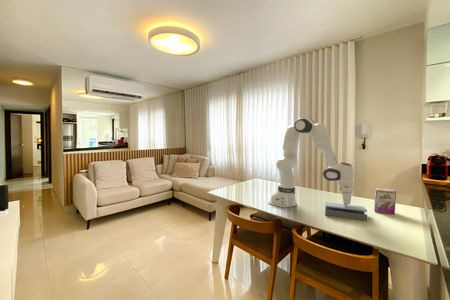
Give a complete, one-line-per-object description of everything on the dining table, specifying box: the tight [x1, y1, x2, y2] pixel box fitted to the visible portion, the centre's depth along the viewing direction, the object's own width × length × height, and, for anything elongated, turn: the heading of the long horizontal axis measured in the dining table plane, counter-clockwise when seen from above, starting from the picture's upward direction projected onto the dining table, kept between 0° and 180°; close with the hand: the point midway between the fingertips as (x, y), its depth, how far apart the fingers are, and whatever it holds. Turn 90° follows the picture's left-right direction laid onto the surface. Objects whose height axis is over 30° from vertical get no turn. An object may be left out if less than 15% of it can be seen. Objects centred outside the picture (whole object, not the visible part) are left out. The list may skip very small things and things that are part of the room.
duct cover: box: [324, 201, 368, 213], centre depth 139 cm, size 24×13×1 cm, turn 62°
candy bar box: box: [373, 187, 397, 215], centre depth 141 cm, size 11×5×16 cm, turn 59°
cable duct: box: [324, 207, 368, 223], centre depth 139 cm, size 24×12×4 cm, turn 62°
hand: (345, 206), depth 138 cm, fingers closed
